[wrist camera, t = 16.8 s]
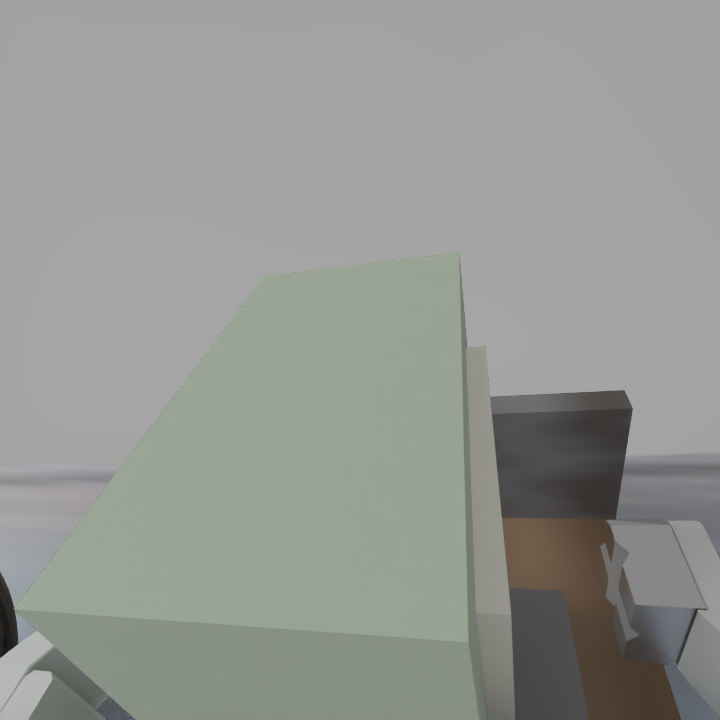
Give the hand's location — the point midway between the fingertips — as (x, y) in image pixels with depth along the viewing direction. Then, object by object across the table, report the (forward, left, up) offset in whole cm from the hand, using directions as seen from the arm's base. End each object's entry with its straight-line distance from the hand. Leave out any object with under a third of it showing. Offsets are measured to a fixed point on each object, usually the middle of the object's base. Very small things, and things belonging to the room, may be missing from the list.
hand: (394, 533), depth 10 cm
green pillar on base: (0, -1, -9) cm, 10 cm away
